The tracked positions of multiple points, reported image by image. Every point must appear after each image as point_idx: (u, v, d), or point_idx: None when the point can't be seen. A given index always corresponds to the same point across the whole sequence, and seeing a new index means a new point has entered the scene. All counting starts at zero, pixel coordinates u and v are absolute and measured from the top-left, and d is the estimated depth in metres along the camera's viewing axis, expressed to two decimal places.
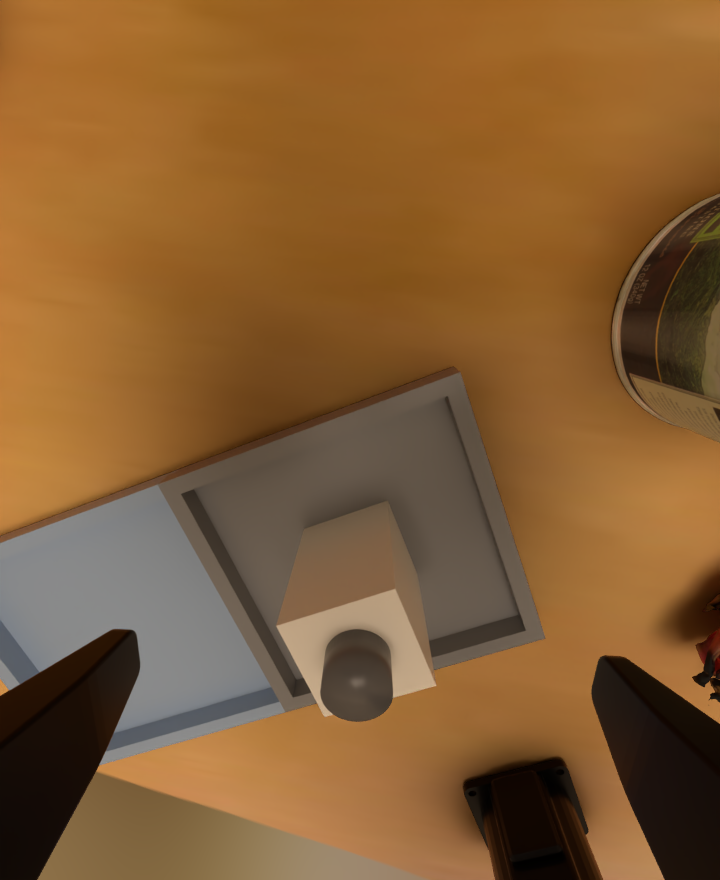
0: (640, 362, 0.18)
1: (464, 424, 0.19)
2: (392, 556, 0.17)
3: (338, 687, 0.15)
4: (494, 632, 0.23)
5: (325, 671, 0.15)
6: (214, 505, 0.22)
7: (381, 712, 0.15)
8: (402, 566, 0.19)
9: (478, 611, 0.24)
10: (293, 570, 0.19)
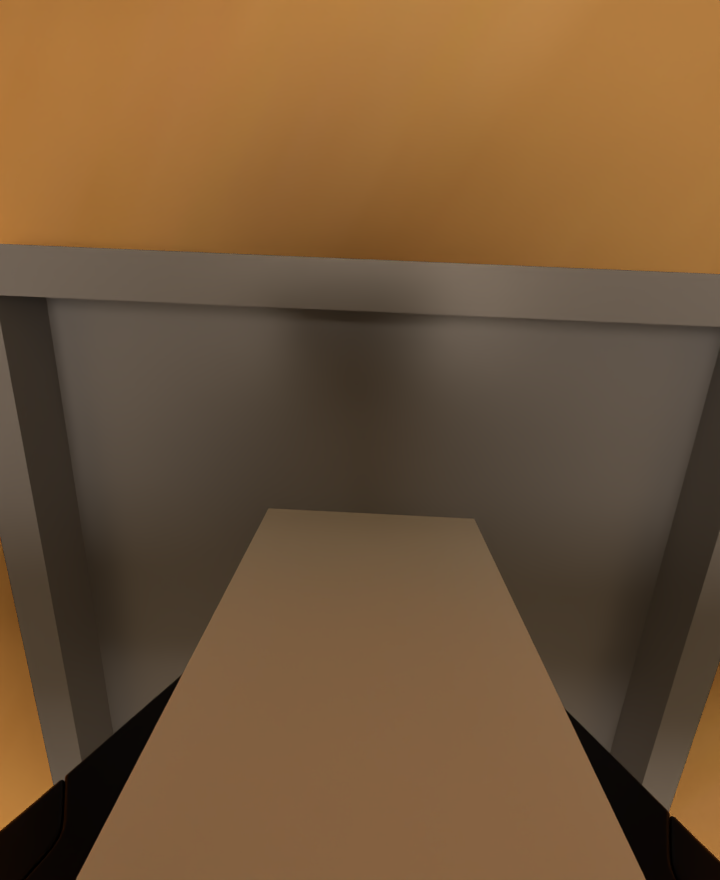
0: None
1: (79, 280, 0.07)
2: (175, 697, 0.05)
3: None
4: None
5: None
6: None
7: None
8: (309, 627, 0.06)
9: (651, 423, 0.09)
10: None
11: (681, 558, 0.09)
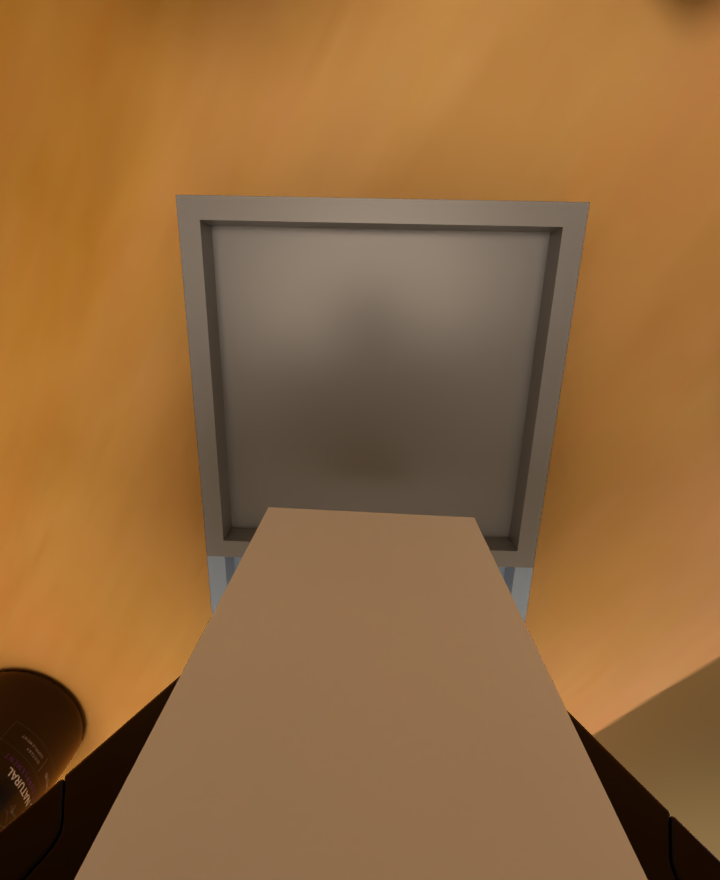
0: None
1: (239, 211, 0.16)
2: (175, 695, 0.05)
3: None
4: (551, 273, 0.17)
5: None
6: (262, 518, 0.21)
7: None
8: (310, 625, 0.06)
9: (519, 286, 0.17)
10: None
11: (538, 357, 0.18)
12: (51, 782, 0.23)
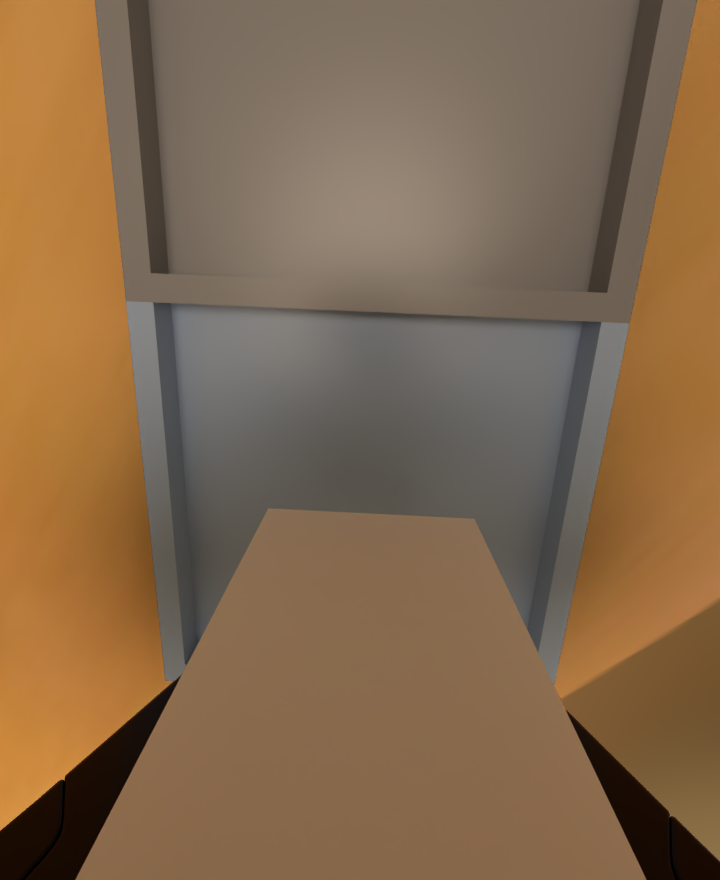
0: None
1: None
2: (174, 698, 0.05)
3: None
4: None
5: None
6: (215, 258, 0.14)
7: None
8: (309, 627, 0.06)
9: None
10: None
11: None
12: None
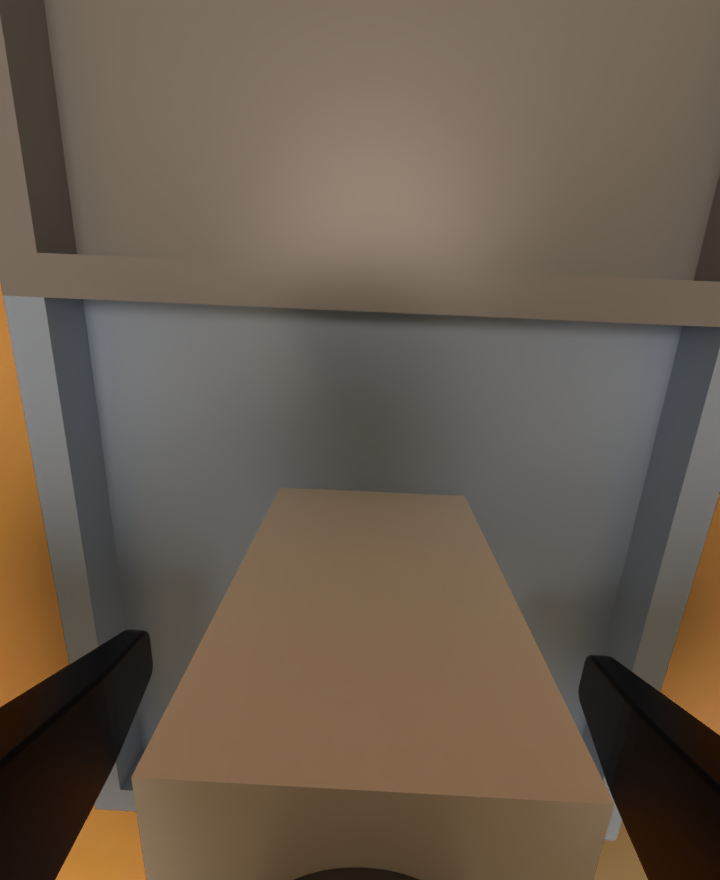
0: None
1: None
2: (212, 626, 0.06)
3: None
4: None
5: None
6: (143, 233, 0.09)
7: None
8: (320, 577, 0.07)
9: None
10: None
11: None
12: None
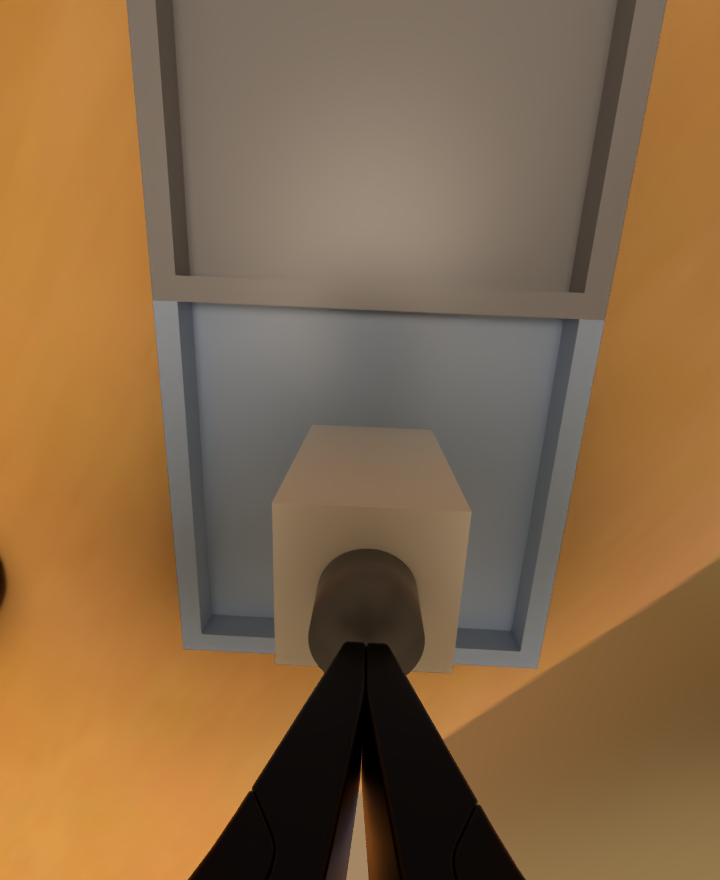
0: None
1: None
2: (290, 470, 0.12)
3: None
4: None
5: None
6: (231, 261, 0.15)
7: (417, 623, 0.09)
8: (343, 457, 0.13)
9: None
10: None
11: None
12: None
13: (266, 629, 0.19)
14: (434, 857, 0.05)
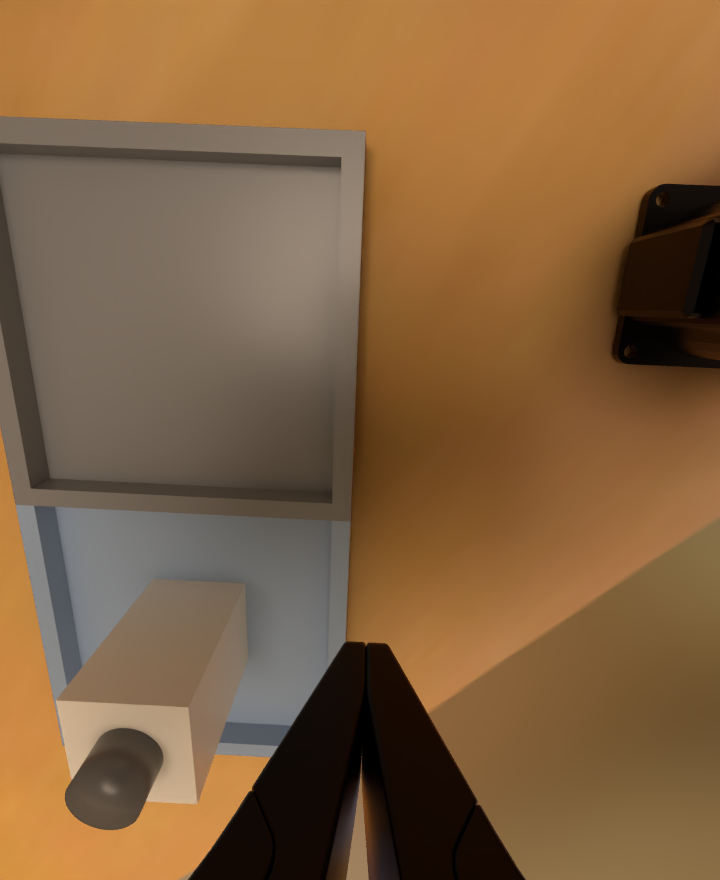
0: None
1: (7, 133, 0.15)
2: (94, 654, 0.17)
3: (91, 813, 0.14)
4: None
5: None
6: (80, 468, 0.20)
7: (133, 793, 0.14)
8: (145, 633, 0.18)
9: (317, 224, 0.17)
10: None
11: None
12: None
13: None
14: (434, 857, 0.05)
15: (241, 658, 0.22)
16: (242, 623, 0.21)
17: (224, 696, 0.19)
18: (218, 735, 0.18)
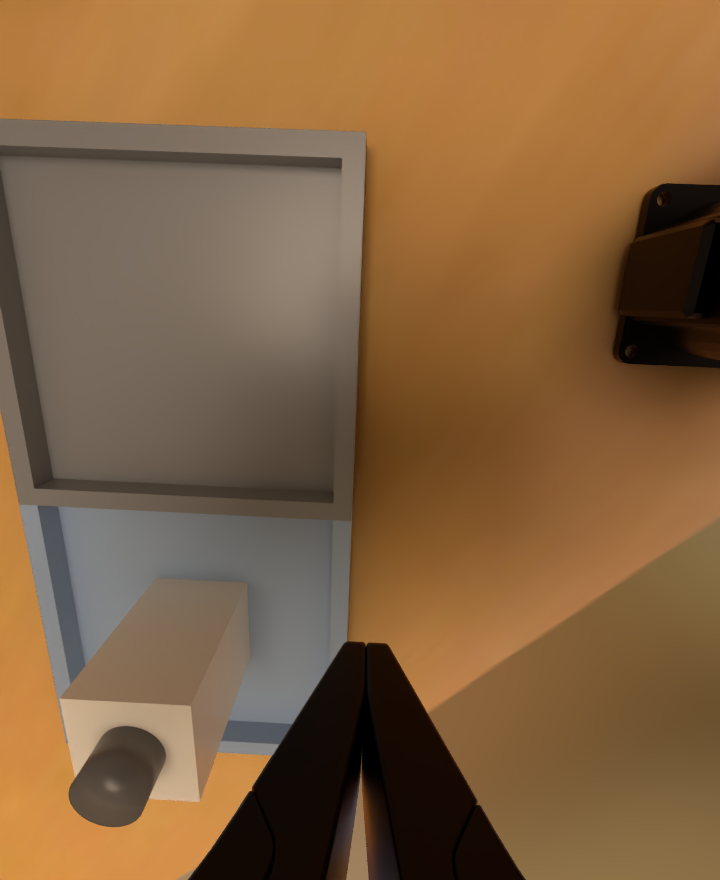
0: None
1: (10, 136, 0.15)
2: (97, 653, 0.17)
3: (94, 810, 0.14)
4: None
5: None
6: (83, 468, 0.20)
7: (135, 791, 0.14)
8: (147, 631, 0.18)
9: (318, 225, 0.17)
10: None
11: None
12: None
13: None
14: (434, 857, 0.05)
15: (243, 657, 0.22)
16: (244, 622, 0.22)
17: (226, 695, 0.19)
18: (220, 733, 0.19)
